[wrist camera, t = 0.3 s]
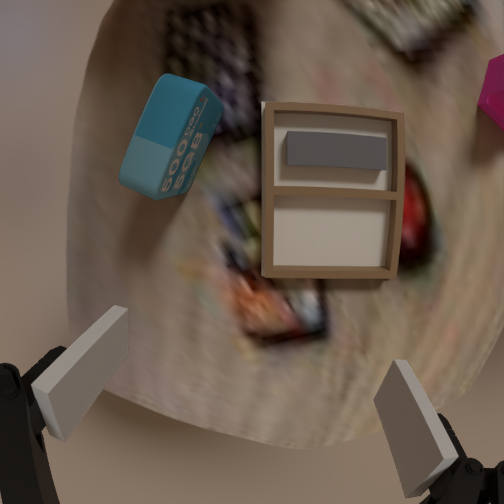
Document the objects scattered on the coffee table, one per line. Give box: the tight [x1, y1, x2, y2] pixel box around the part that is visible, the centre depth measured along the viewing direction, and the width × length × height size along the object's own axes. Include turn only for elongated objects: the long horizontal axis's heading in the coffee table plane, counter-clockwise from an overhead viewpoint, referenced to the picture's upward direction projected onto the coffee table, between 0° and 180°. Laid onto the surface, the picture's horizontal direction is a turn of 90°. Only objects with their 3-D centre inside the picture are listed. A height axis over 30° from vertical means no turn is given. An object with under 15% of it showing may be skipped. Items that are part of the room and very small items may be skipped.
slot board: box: [261, 102, 405, 279], centre depth 35 cm, size 22×18×3 cm
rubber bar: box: [287, 131, 387, 170], centre depth 33 cm, size 4×12×2 cm, turn 90°
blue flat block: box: [119, 73, 224, 200], centre depth 31 cm, size 12×4×12 cm, turn 155°
